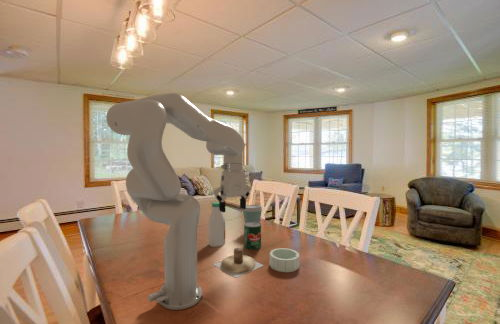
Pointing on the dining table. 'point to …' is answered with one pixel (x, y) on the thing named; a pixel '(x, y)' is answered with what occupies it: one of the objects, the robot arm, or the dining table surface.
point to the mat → (257, 265)
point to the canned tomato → (252, 235)
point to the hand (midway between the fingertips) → (232, 210)
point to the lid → (238, 262)
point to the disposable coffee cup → (252, 213)
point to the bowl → (284, 260)
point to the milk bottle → (216, 226)
